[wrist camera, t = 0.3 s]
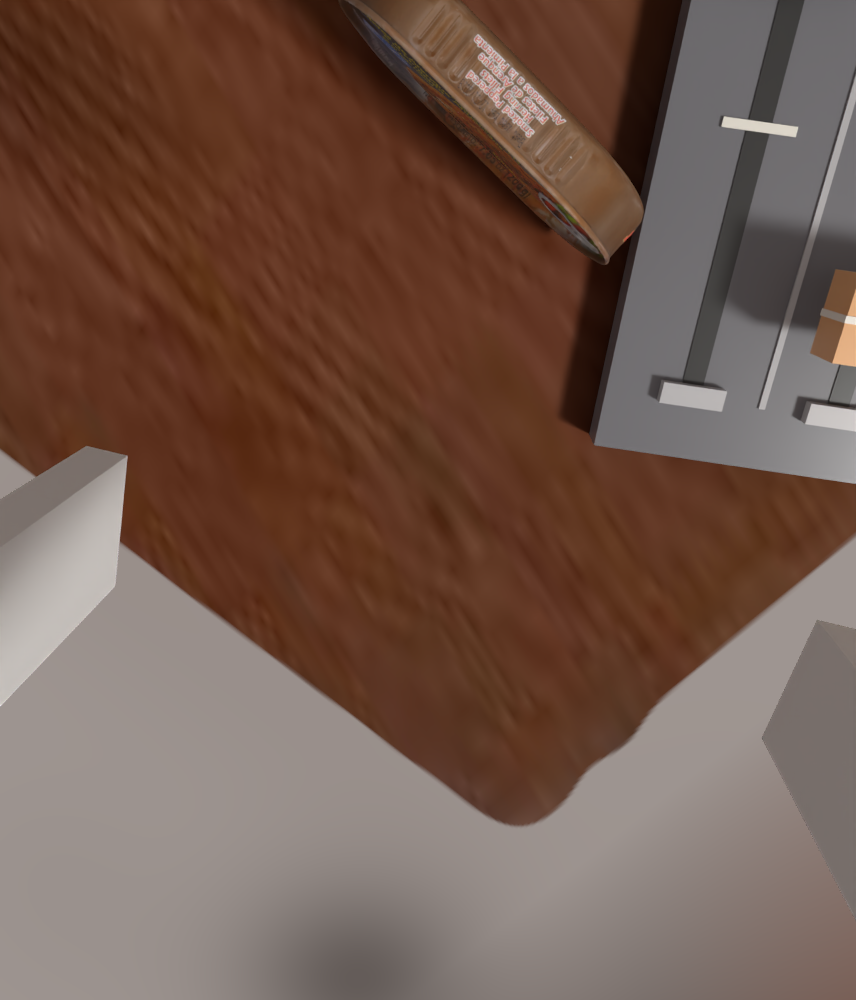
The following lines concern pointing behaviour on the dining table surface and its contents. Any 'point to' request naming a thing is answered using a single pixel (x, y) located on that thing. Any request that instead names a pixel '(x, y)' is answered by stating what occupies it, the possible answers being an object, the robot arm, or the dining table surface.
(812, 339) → the console
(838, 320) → the fader orange
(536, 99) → the tin
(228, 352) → the dining table surface
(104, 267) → the dining table surface
